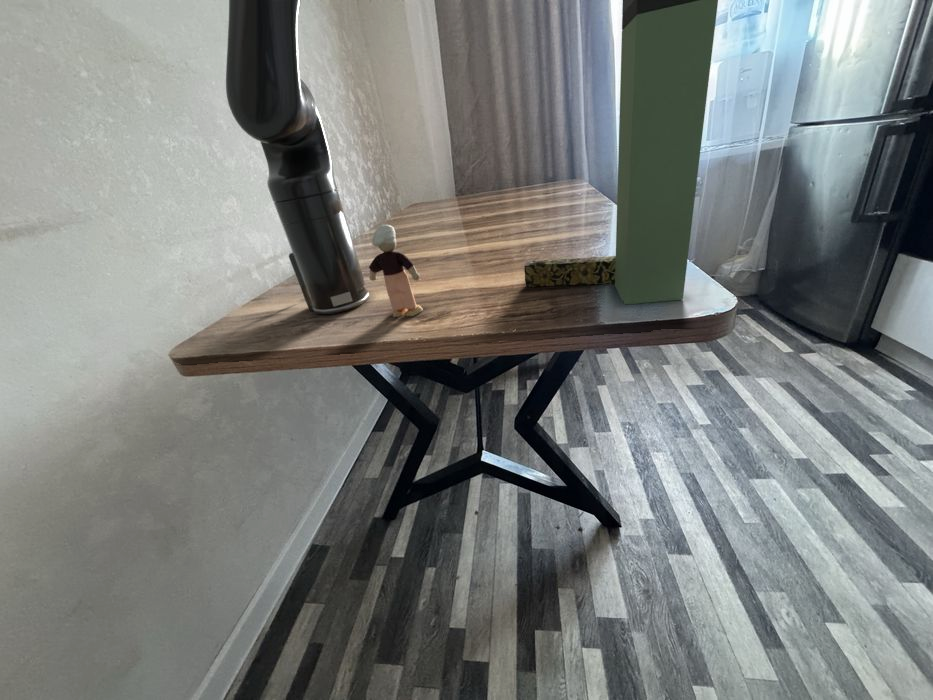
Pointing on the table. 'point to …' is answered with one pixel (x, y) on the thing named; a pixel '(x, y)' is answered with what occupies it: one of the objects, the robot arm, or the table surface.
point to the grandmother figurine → (394, 272)
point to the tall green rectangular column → (660, 142)
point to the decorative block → (570, 271)
